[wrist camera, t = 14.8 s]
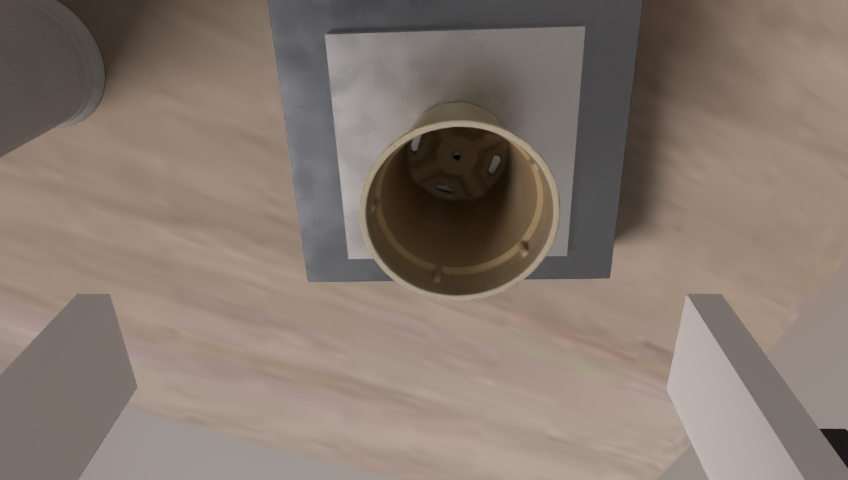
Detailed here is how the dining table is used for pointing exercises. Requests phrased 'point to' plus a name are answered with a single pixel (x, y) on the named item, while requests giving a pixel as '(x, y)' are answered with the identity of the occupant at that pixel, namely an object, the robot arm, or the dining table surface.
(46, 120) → the grey pitcher
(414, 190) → the flower pot
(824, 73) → the dining table surface
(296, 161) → the gray square platform
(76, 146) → the dining table surface
